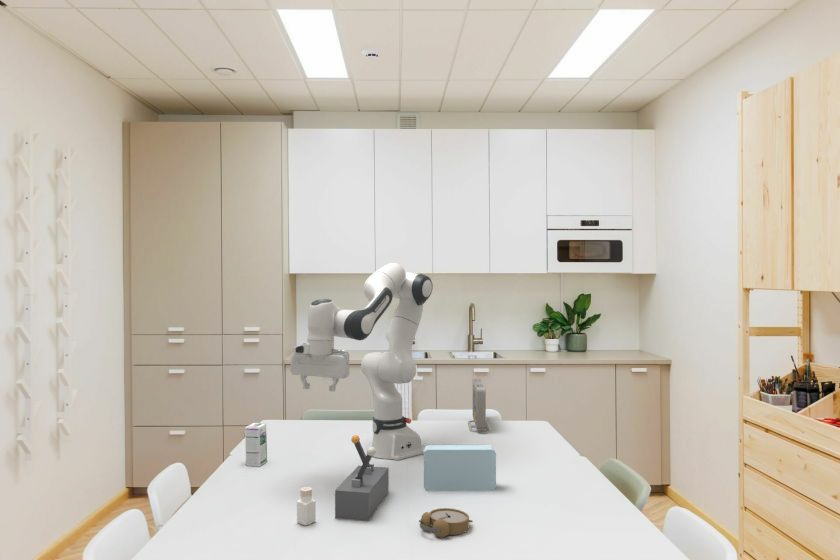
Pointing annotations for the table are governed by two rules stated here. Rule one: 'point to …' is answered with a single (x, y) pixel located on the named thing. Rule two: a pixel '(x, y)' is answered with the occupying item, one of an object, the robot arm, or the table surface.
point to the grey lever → (366, 462)
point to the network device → (479, 407)
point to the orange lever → (359, 448)
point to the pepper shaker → (306, 507)
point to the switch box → (362, 493)
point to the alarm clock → (445, 522)
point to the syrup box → (256, 444)
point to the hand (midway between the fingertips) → (319, 390)
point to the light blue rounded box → (459, 468)
